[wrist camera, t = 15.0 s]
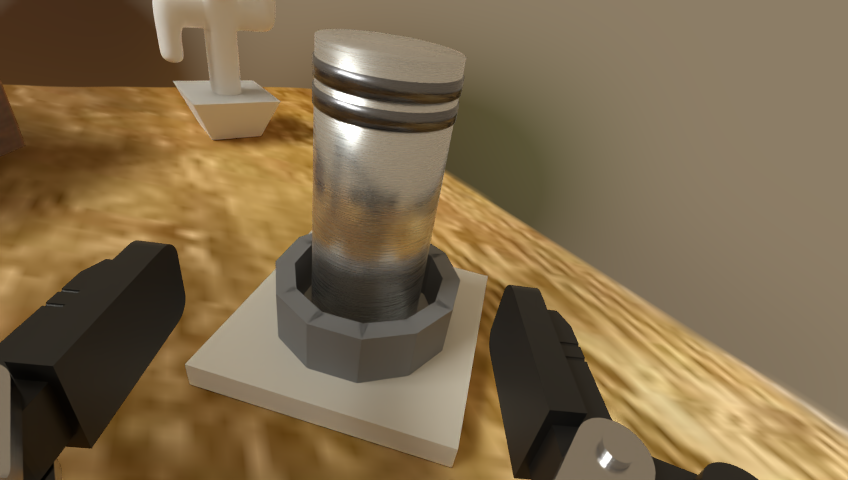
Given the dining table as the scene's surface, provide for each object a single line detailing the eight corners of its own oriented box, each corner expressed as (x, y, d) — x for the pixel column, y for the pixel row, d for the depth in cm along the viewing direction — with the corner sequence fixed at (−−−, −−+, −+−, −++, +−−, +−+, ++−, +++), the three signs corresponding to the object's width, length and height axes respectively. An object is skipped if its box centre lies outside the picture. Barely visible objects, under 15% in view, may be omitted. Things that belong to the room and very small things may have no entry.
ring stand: (189, 384, 17) (173, 317, 15) (311, 246, 26) (312, 193, 24) (451, 467, 16) (472, 406, 14) (483, 291, 25) (498, 240, 23)
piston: (289, 333, 18) (281, 35, 12) (336, 269, 23) (348, 25, 16) (400, 366, 18) (454, 71, 11) (426, 294, 22) (476, 50, 16)
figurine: (166, 121, 40) (130, -74, 32) (265, 115, 45) (256, -52, 37) (185, 148, 35) (148, -70, 27) (292, 138, 40) (289, -46, 32)
